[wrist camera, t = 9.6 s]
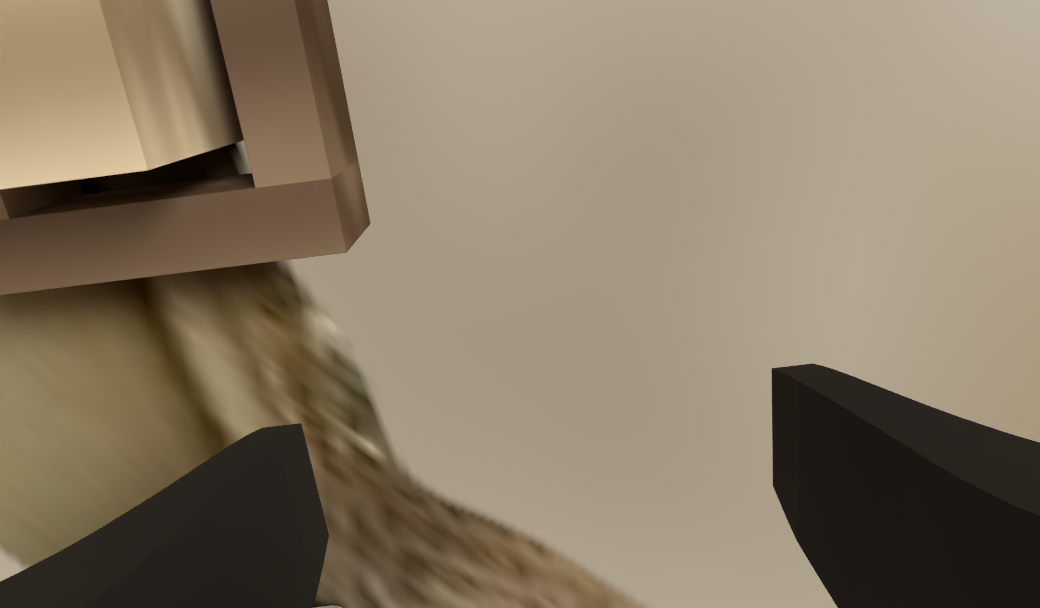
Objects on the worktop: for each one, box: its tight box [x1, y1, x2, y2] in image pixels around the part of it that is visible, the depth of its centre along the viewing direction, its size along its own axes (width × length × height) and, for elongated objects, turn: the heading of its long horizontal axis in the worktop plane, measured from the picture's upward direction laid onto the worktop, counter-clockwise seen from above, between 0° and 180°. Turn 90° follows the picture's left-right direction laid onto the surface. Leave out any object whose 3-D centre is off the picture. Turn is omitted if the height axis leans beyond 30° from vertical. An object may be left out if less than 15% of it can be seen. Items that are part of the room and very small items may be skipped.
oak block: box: [0, 0, 244, 189], centre depth 15 cm, size 4×4×6 cm
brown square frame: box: [0, 0, 370, 295], centre depth 17 cm, size 9×9×3 cm
